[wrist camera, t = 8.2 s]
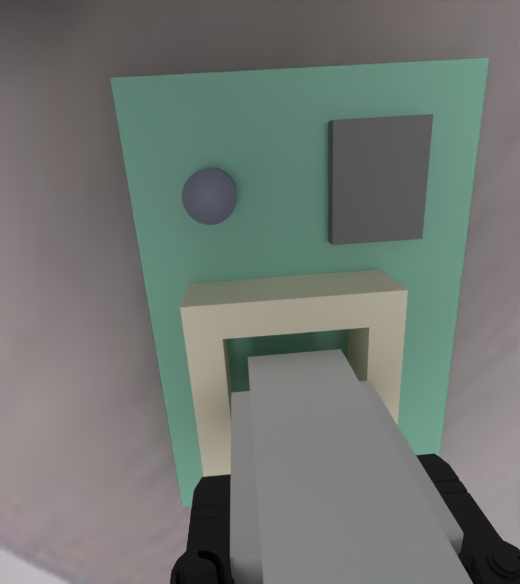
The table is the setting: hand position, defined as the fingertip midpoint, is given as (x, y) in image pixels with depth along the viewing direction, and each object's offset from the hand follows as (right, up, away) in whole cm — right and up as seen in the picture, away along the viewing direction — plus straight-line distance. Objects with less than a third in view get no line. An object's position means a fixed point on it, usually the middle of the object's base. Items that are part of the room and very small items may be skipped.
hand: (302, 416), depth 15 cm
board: (+1, +4, +4) cm, 6 cm away
